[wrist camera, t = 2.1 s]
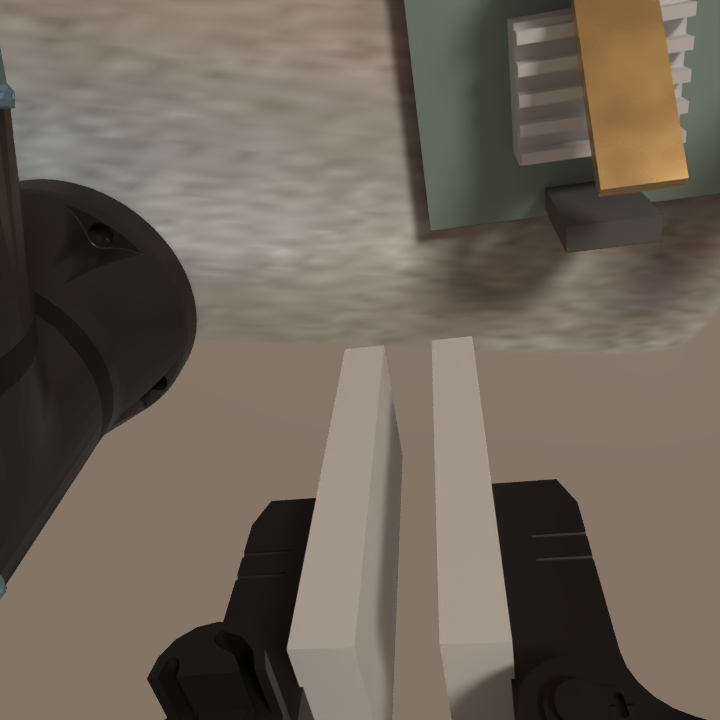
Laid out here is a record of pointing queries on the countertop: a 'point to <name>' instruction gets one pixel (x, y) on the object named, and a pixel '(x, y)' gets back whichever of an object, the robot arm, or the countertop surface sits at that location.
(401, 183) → the countertop surface
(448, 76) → the clamp base
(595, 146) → the strap
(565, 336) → the countertop surface
